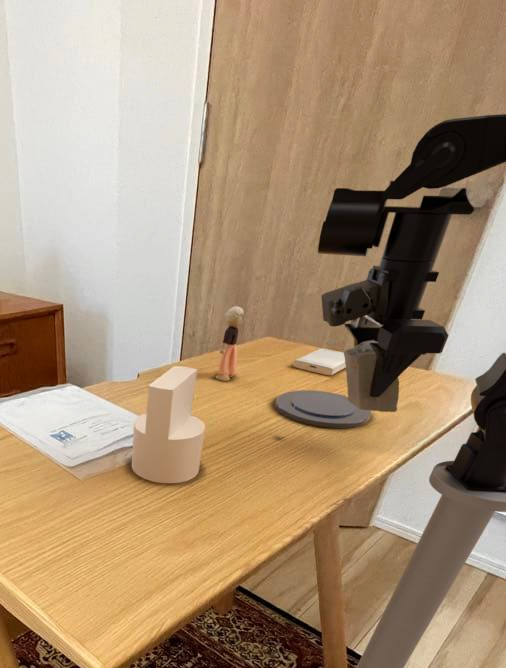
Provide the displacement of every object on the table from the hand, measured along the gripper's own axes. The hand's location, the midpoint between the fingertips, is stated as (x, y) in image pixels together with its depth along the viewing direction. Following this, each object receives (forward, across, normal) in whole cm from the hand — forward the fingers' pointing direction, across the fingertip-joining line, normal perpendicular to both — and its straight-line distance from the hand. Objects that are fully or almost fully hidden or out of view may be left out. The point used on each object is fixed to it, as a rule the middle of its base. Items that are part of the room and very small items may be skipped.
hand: (365, 388), depth 68 cm
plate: (+8, -13, 0) cm, 15 cm away
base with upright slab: (+8, +10, -27) cm, 30 cm away
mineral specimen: (+2, 0, 0) cm, 2 cm away
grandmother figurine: (+8, -29, -14) cm, 33 cm away
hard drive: (+8, -39, +8) cm, 41 cm away
